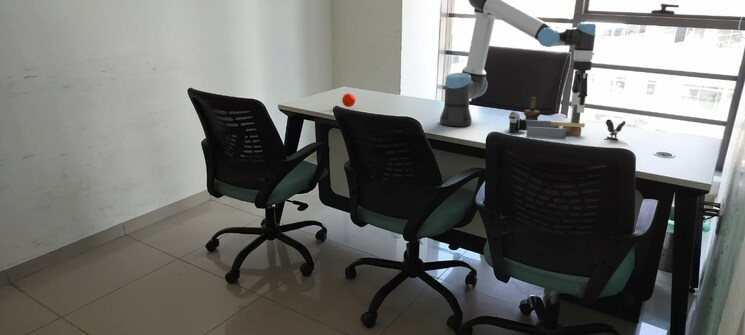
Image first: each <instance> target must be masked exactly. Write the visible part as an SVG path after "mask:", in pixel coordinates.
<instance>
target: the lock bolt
mask: <svg viewBox="0 0 745 335" xmlns="http://www.w3.org/2000/svg"><path fill="white" fill-rule="evenodd" d="M577 106H578V104H573V108H572V110H571V115H570V116H571V118H570V121H557V120H550V121H551V126H561V127H563V126H565V127H581V128H585V126H586V122H580V121H581V120H580V119H581V113H577Z"/></svg>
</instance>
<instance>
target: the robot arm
mask: <svg viewBox="0 0 745 335" xmlns="http://www.w3.org/2000/svg"><path fill="white" fill-rule="evenodd" d="M468 3H469V5H470V6H471V7H472V8H474V10H473V13H474V14H475V20H474V26H473V30H472V31H473V32H472V36H471V41H470V46H469V47H470V48H469V51H468V57H467V62H466V66H465V67H464V68H462V70H461V72H456V73H455V72H454V73H450V74H447V76H446V77H445V82H444V85H445V86H444V103H443V105H444V107H443V109H442V112H441V114H440V118H439V123H440V124H442V125H446V126H452V127H466V126H470V125H471V126H472V121H473V119H472V116H471V111H470V100H471V99H477V98H479V97H481V96H483V95H484V94H485V92H487V88H488V80H487V78H486V77H487V72H486V70H485V66H486V63H487V62H486V61H487V58H488V52H489V47H490V42H491V38H492V33H493V29H494V22H495V19H499V20H501V21H503V22H504V23H506V24H508V25H509V26H511V27H512V28H513V27H514V29H517V30H519V31H520V32H522V33H524V34H526V35H527V36H529V37H531V38H533V39H534V40H535V41H538V43H539V44H540V45H541V46H543V47H546V48H547V47H548V48H551V47H559V46H560V47H562V46H563V47H566V46H567V47H574V50H573V58H572V59H573V61H572V70H574V78H573V82H572V87H571V92H572V94H571V104H570V108H573V104H578V106H577V113H580V114H583V113H584V114H585V106H586V97H588V75H589V74H588V73H587V71H591V70H592V65H593V62H592V60H593V56H595V52H594V47H595V38H596V24H595V23H594V22H591V23H590V22H586V23H585V22H580V23H577V24H576V27H553V26H552V25H550V24H549V23H546V22H545V21H543V20H541V19H539V18H537V17H535V16H533V15H532V14H531V13H529V12H526V11H524V10H523V9H520V8H519V7H518V6H516V5H513V4H512V3H511V2H508V1H507V0H468Z"/></svg>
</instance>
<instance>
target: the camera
mask: <svg viewBox="0 0 745 335" xmlns="http://www.w3.org/2000/svg"><path fill="white" fill-rule="evenodd" d="M508 119H509V126H508V129H509V130H508V132H509V135H516V132H521V131H527V129H526V120H525V118H523V119H522V118H521V115H520V113H519V112H517V111H513V110H512V111H511V112H510V114H509V115H508Z"/></svg>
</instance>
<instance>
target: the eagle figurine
mask: <svg viewBox="0 0 745 335" xmlns="http://www.w3.org/2000/svg"><path fill="white" fill-rule="evenodd" d="M605 125H606V126H607V131H608V132H609V136H606V138H604V140H613V141H614V140H615V141H619V138H617V135H618V133H619V132H621V131H622V128H623V127H624V126H625V125H626V120H623V121H622V122H620V124H619V123H618V125H617V126H616V127H615V126H614V122H613V121H612V120H611V119H610V118H609V119H606V121H605ZM613 136H614V137H613Z"/></svg>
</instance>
